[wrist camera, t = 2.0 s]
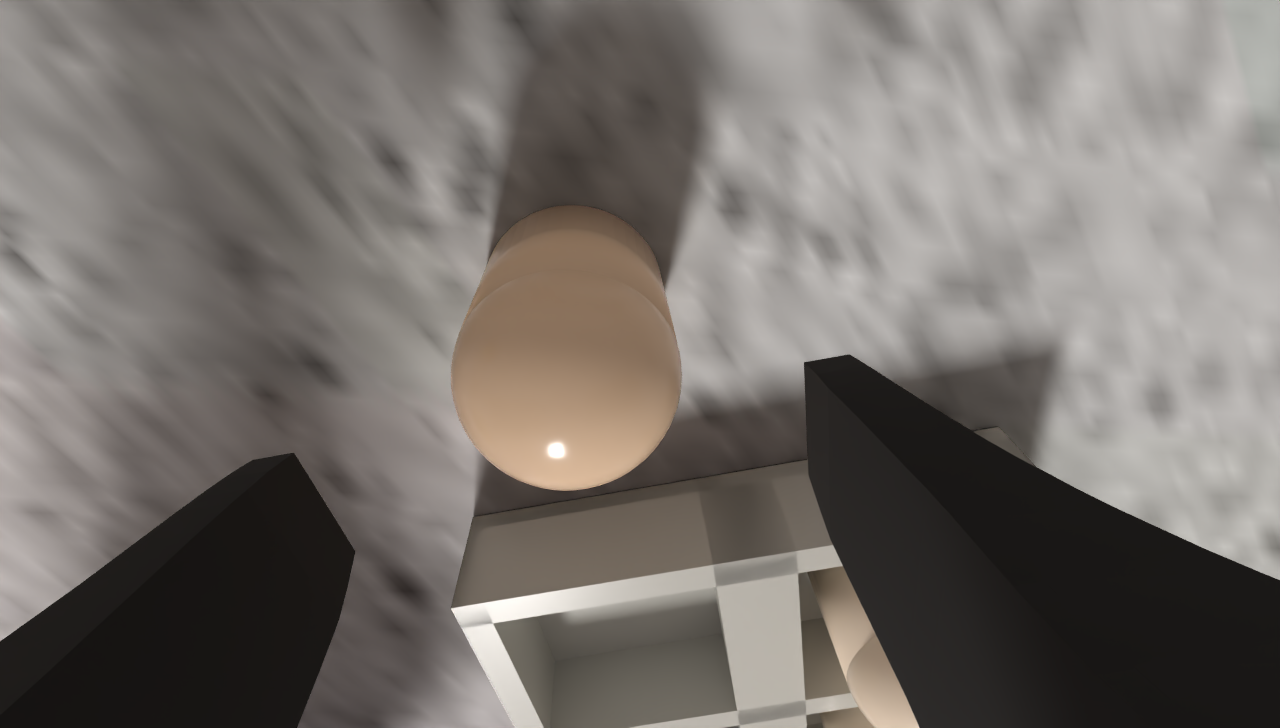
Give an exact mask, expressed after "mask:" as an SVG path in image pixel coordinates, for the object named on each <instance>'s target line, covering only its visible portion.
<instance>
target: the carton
mask: <svg viewBox="0 0 1280 728" xmlns="http://www.w3.org/2000/svg"><path fill="white" fill-rule="evenodd" d="M973 432H974V433H976V434H978V435H980V436H981V437H983V438H985V439H986V440H988V441H990V442H992V443H993V444H995V445H997V446H999V447H1000V448H1002V449H1004V450H1006V451H1007V452H1009V453H1011V454H1013V455H1015V456H1016V457H1018V458H1020V459H1022V460H1024V461H1026V462H1027V463H1029V464H1031V465H1033V466H1035V465H1034V464H1033V463H1032V462H1031V461H1030V460H1029V459H1028V458H1027V457H1026V456H1025V455H1024V453H1023V452H1022V451H1021V450H1020V449H1019V448H1018V447H1017V446H1016V445H1015V444H1014V443H1013V442H1012V441H1011V439H1010V438H1009V437H1008V436H1007V435H1006V434H1005V433H1004V432H1003V431H1002V430H1001V429H1000V428H999V427H995V428H989V429H983V430H977V431H973ZM1035 467H1036V466H1035ZM840 566H843V565H842V563H841V561H840V559H839V557H838V555H837V553H836V550H835V548H834V546H833V544H832V542H831V540H830V537H829V534H828V531H827V529H826V526H825V523H824V520H823V517H822V514H821V511H820V508H819V505H818V502H817V499H816V496H815V493H814V490H813V487H812V484H811V481H810V478H809V475H808V460H803V461H797V462H791V463H786V464H780V465H774V466H768V467H762V468H756V469H751V470H745V471H739V472H733V473H727V474H722V475H716V476H710V477H704V478H698V479H692V480H687V481H681V482H675V483H669V484H663V485H658V486H652V487H646V488H640V489H634V490H629V491H623V492H617V493H611V494H605V495H599V496H594V497H588V498H582V499H576V500H570V501H565V502H559V503H553V504H547V505H541V506H535V507H530V508H524V509H518V510H512V511H506V512H501V513H495V514H489V515H483V516H477V517H473V519H472V523H471V527H470V532H469V536H468V540H467V544H466V548H465V552H464V556H463V560H462V565H461V569H460V573H459V577H458V581H457V585H456V589H455V593H454V598H453V602H452V606H451V610H452V611H453V613H454V615H455V617H456V619H457V621H458V623H459V624H460V626H461V628H462V630H463V632H464V634H465V636H466V638H467V639H468V641H469V643H470V645H471V647H472V649H473V651H474V653H475V654H476V656H477V658H478V660H479V662H480V664H481V666H482V668H483V669H484V671H485V673H486V675H487V677H488V679H489V681H490V683H491V684H492V686H493V688H494V690H495V692H496V694H497V696H498V697H499V699H500V701H501V703H502V705H503V707H504V709H505V711H506V712H507V714H508V716H509V718H510V720H511V722H512V724H513V726H514V727H515V728H824V727H823V724H822V720H821V717H820V714H819V713H822V712H828V711H835V710H841V709H848V708H854V707H858V705H857V704H856V702H855V700H854V699H853V697H852V694H851V692H850V690H849V687H848V684H847V682H846V679H845V676H844V673H843V671H842V668H841V665H840V662H839V659H838V657H837V654H836V651H835V648H834V646H833V643H832V640H831V637H830V635H829V632H828V629H827V626H826V624H825V621H824V618H823V615H822V613H821V610H820V607H819V604H818V601H817V599H816V596H815V593H814V590H813V588H812V585H811V582H810V579H809V577H808V574H807V572H809V571H815V570H822V569H828V568H834V567H840Z"/></svg>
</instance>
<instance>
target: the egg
mask: <svg viewBox="0 0 1280 728" xmlns="http://www.w3.org/2000/svg"><path fill="white" fill-rule="evenodd" d="M681 383H682V369H681V359H680V352H679V348H678V344H677V340H676V336H675V332H674V327H673V323H672V319H671V315H670V311H669V307H668V303H667V298H666V294H665V290H664V286H663V282H662V278H661V274H660V270H659V266H658V263H657V260H656V258H655V256H654V254H653V252H652V250H651V248H650V247H649V245H648V244H647V242H646V241H645V240H644V238H643V237H642V236H641V235H640V234H639V233H638V232H637V231H636V230H635V229H634V228H633V227H632V226H630V225H629V224H628V223H626V222H625V221H624V220H622V219H620V218H618V217H616V216H615V215H613V214H610V213H608V212H605V211H603V210H600V209H596V208H592V207H587V206H579V205H563V206H555V207H550V208H546V209H543V210H540V211H537V212H535V213H533V214H530V215H528V216H527V217H525V218H523V219H522V220H520V221H518V222H517V223H516V224H515V225H513V226H512V227H511V228H510V229H509V230H508V231H507V232H506V233H505V234H504V235H503V236H502V238H501V239H500V240H499V242H498V243H497V245H496V246H495V248H494V250H493V252H492V254H491V256H490V259H489V261H488V264H487V266H486V269H485V271H484V273H483V276H482V278H481V281H480V283H479V286H478V288H477V291H476V293H475V295H474V298H473V300H472V303H471V305H470V308H469V310H468V313H467V315H466V317H465V320H464V322H463V325H462V327H461V330H460V332H459V335H458V338H457V341H456V344H455V348H454V352H453V357H452V364H451V389H452V395H453V401H454V404H455V408H456V411H457V414H458V417H459V420H460V422H461V424H462V426H463V428H464V430H465V432H466V434H467V435H468V437H469V439H470V440H471V441H472V443H473V444H474V446H475V447H476V448H477V449H478V450H479V452H480V453H481V454H482V455H483V456H484V457H485V458H486V459H487V460H488V461H489V462H491V463H492V464H493V465H494V466H495V467H497V468H498V469H499V470H501V471H502V472H504V473H505V474H507V475H509V476H511V477H513V478H515V479H517V480H519V481H521V482H524V483H527V484H529V485H533V486H536V487H540V488H545V489H551V490H562V491H568V490H581V489H587V488H592V487H596V486H600V485H603V484H606V483H609V482H611V481H614V480H616V479H618V478H620V477H622V476H623V475H625V474H627V473H628V472H630V471H631V470H633V469H634V468H635V467H637V466H638V465H639V464H640V463H642V462H643V461H644V460H645V459H646V458H647V457H648V456H649V455H650V454H651V453H652V452H653V451H654V450H655V448H656V447H657V446H658V444H659V443H660V442H661V440H662V439H663V438H664V436H665V435H666V433H667V431H668V429H669V427H670V425H671V423H672V420H673V418H674V415H675V413H676V410H677V407H678V403H679V398H680V393H681Z"/></svg>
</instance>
